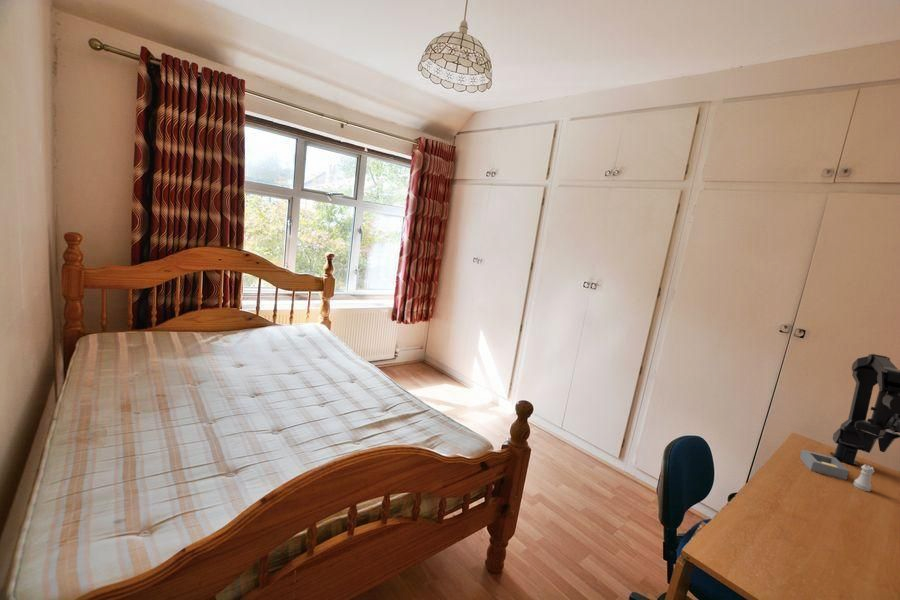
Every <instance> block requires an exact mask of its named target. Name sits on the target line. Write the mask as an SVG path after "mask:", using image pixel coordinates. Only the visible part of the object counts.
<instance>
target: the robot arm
mask: <svg viewBox="0 0 900 600" xmlns="http://www.w3.org/2000/svg"><path fill="white" fill-rule="evenodd" d="M851 371H852V372H851V373H852V374H851V377H852V378H853V379H854V381H855V387H854V392H853V396H852V401H851V404H850V405H851V406H850V409H849V413H848V418H847V420H845V421H844V422H842V423H841V424H840V427H839V428H838V429H837V430H836V431H834V433H833V436H832V441H833V442H834V443H835V444H837V445H836V447H835V451H834V452H831V451H830V452H829V454H830V455H831V457H835V458H836V459H837V460H838V461H839V462H840V463H841V462H842V463H845V464H849V465H853V466H856V467H858V466H859V463H858V462H856V461H855V460H856V458H857V454H858V451H862V452H864V453H865V452H866V453H868V454H870V453H871V452H872V450H873V448H874V446H875V444H876V442H877V441H878V442H877V443H878V450H879V451H880V452H881V453H885V452H886V451H887V449H889V447H890V446H891V445H892V444H893V442H894V441H895V440H896V439H897V440H898V439H900V369H899V368H897V366H896V365H895V364H894V363H893V361H891V358H890V357H888V356H886V355H882V354H881V355H880V354H875V353H870V354H868V355H867V356H862V357H858V358H857V359H856V360H854V362H853V363H852V365H851ZM876 385H878V393H877V397H876V399H875V404H874V406H871V407H870V403H871V399H872V394H873V390H874V386H876ZM869 407H870V410H871V411H872V413H871V416H870V417H871V418H867V416H868V411H869Z"/></svg>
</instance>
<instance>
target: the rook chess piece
mask: <svg viewBox="0 0 900 600" xmlns="http://www.w3.org/2000/svg"><path fill="white" fill-rule="evenodd" d="M860 468H861V470H860V474H859V476H858V477H857V478H855V479H854V480H853V481H854V482H852V484H853V486H854V487H855V488H857V489H859V490H861V491H865V492H870V491H872V488H873V486H872V483H871V479H872V476H873V473H875V472H876V471H875V470H874V469H875V468H874V467H873V466H870V465H867V464H863V465H861V466H860Z"/></svg>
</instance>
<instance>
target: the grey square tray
mask: <svg viewBox="0 0 900 600" xmlns="http://www.w3.org/2000/svg"><path fill="white" fill-rule="evenodd" d="M799 458H800V460H802V462H803V463H804V464H805V466H806V467H807V468H808V469H809V471H811V472H813V473H819V474H823V475H826V476H829V477H833V478H838V479H841V480H845V481H847V479H848V475H849V472H850V471H849V469H848V468H847V467H845V465H844V464H843V463H841V461H838V460H837V459H836V458H835V457H833V456H832V455H831V456H829V455H826V454H823V453H818V452H815V451H810V450H807V449H803V448H802V449H801V452H800V456H799Z"/></svg>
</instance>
